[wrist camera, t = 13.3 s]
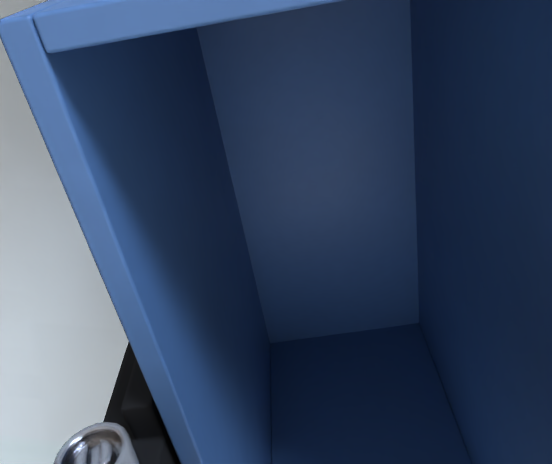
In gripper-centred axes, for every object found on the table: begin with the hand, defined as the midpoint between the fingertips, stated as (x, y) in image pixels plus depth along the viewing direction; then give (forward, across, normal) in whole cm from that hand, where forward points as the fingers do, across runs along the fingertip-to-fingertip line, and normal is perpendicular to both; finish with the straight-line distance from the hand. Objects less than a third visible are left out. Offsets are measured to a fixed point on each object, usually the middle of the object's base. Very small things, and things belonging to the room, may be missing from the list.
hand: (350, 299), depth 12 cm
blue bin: (+7, 0, 0) cm, 7 cm away
